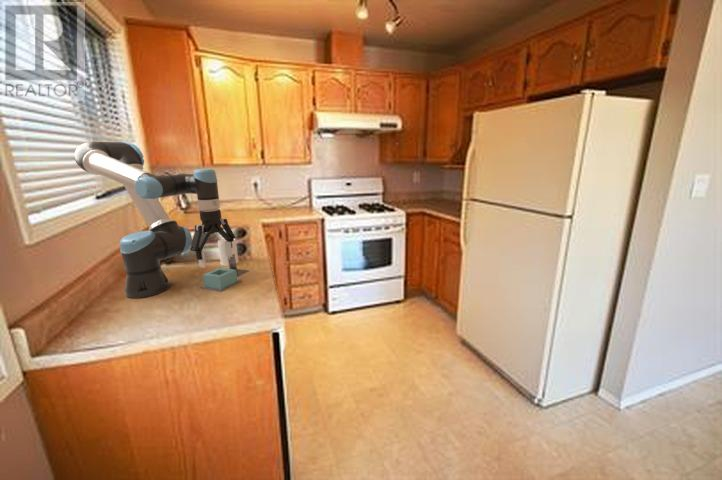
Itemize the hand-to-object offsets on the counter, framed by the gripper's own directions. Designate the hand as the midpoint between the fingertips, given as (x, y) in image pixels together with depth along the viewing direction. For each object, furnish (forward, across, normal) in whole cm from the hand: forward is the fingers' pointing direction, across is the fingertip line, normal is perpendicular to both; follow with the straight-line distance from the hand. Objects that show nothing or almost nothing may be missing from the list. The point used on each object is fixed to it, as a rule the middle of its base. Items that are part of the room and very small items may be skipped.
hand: (216, 261), depth 131 cm
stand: (+10, +12, +4) cm, 16 cm away
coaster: (+10, 0, -1) cm, 10 cm away
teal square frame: (+10, 0, -1) cm, 10 cm away
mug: (+11, +22, +16) cm, 29 cm away
